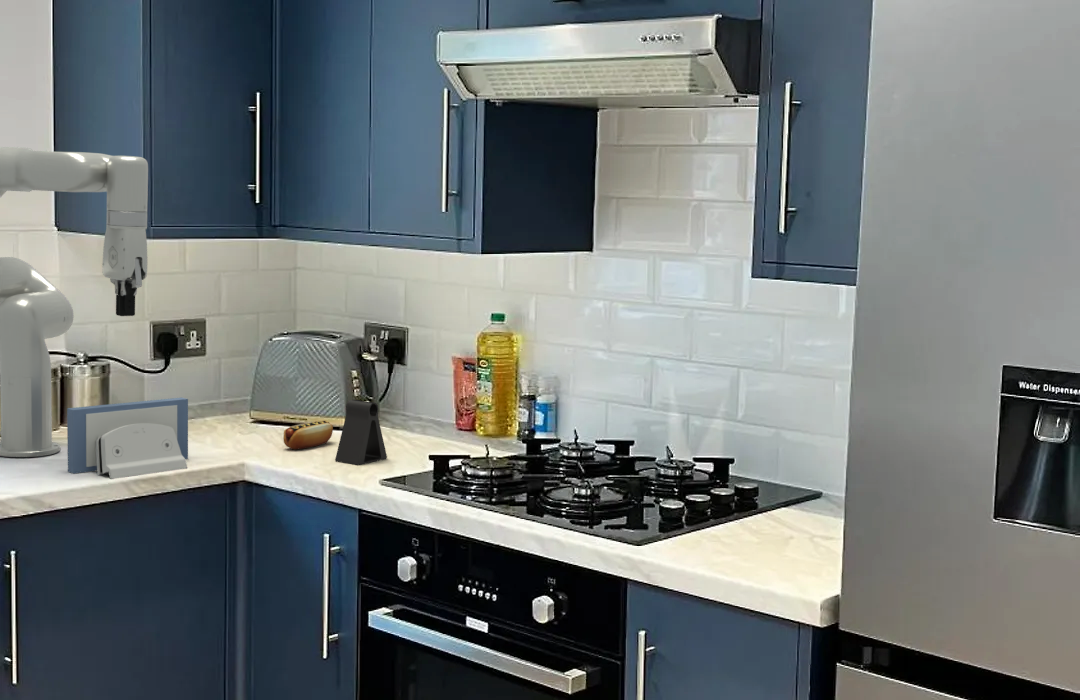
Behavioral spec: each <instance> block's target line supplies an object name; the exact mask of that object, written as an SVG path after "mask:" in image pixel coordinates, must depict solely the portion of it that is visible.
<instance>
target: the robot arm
mask: <svg viewBox="0 0 1080 700" xmlns="http://www.w3.org/2000/svg"><path fill="white" fill-rule="evenodd" d="M148 186H149V164H148V160H147V159H145V158H144V157H141V156H133V155H112V154H106V153H100V152H99V153H98V152H84V151H83V152H82V151H47V150H45V151H43V150H33V149H32V148H29V147H18V146H17V147H15V146H14V147H10V146H9V147H8V146H0V198H2V196H3V195H4V194H6V192H7V191H8V192H10V191H11V192H27V193H30V192H32V191H41V192H42V191H45V192H60V193H61V192H64V193H65V192H67V193H106V230H105V234H104V241H103V249H102V250H103V251H102V263H101V264H102V265H101V267H102V275H103V276H104V277H105V278H107V279H109V281H110V283H111V284H113V286H114V294H115V315H116V316H119V317H133V316H134V317H135V316H136V296H137V292H138V289H139V288H141V287H142V286H143V281H144V280H145V279H146V278H147V275H148V242H147V240H148V239H147V233H146V232H147V231H146V230H148V200H149V198H148V197H149V196H148V193H149V191H148V190H149V188H148ZM74 317H75V316H74V310H73V307H72V304H71V303H70V300H69V299H68V298H67V297H66V295H65V294H63V292H61V291H60V290H59V289H58V288H57V287H56V286H55V285H54V284H53V283H51V282H50V281H49V280H48V279H47V278H46V277H45V276H44V275H43V274H42V273H40V272H39V271H38V270H37V269H36V268H35V267H33V265H32V264H30V263H28V262H27V261H25V260H23V259H20V258H17V257H14V256H13V257H12V256H4V257H3V256H2V257H0V457H7V458H34V457H35V458H37V457H44V456H51V455H54V454H57V453H59V452H60V451H61V445H60V444H59V443H57V442H54V441H53V429H52V427H53V423H52V422H53V417H52V363H51V357H50V352H49V349H48V347H47V344H46V341H45V340H46V339H52V338H56V337H60V336H61V335H65V333H66V332H68V330H69V329H71V327H72V325H73V322H74Z"/></svg>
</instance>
